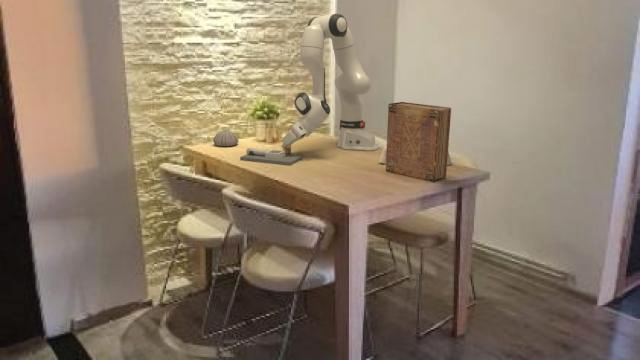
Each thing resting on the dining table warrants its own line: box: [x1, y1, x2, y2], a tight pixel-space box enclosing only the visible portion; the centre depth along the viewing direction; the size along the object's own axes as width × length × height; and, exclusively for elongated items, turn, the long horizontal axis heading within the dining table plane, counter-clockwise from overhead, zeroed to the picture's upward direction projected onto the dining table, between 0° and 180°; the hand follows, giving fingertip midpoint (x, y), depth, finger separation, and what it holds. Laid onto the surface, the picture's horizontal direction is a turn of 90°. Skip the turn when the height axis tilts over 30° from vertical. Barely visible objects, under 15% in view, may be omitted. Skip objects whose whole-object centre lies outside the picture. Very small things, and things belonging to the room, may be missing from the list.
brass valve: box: [282, 144, 292, 155], centre depth 272 cm, size 4×4×8 cm
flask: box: [447, 151, 453, 166], centre depth 257 cm, size 7×7×10 cm
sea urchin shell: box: [212, 129, 239, 147], centre depth 292 cm, size 13×14×8 cm
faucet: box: [378, 145, 387, 165], centre depth 261 cm, size 4×18×10 cm, turn 129°
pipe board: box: [239, 147, 304, 166], centre depth 261 cm, size 26×14×4 cm, turn 68°
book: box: [385, 101, 452, 183], centre depth 234 cm, size 25×9×30 cm, turn 46°
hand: (285, 145), depth 272 cm, fingers open, 6 cm apart
